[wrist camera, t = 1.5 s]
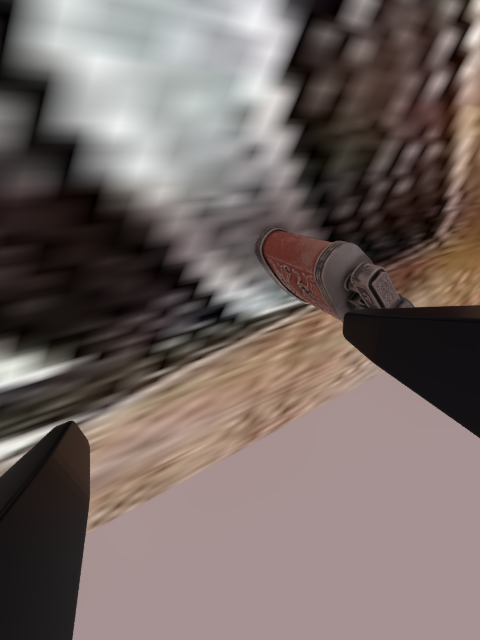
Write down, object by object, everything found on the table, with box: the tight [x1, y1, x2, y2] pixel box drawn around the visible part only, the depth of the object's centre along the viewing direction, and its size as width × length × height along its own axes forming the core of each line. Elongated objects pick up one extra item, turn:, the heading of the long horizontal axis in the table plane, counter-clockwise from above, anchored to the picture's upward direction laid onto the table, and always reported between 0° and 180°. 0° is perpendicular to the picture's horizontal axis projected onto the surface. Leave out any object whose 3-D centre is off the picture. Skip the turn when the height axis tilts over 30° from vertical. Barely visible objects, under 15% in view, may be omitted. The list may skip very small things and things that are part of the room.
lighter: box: [255, 227, 414, 322], centre depth 17 cm, size 8×3×10 cm, turn 45°
